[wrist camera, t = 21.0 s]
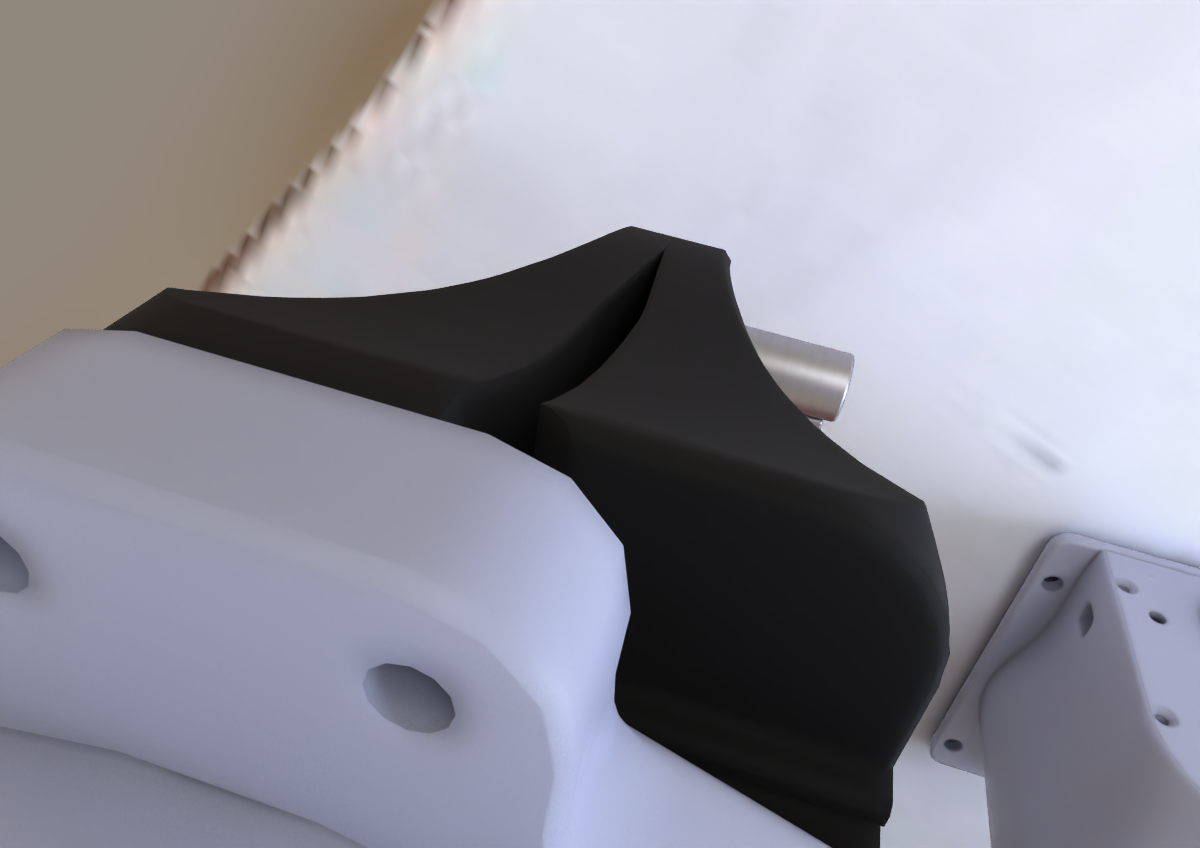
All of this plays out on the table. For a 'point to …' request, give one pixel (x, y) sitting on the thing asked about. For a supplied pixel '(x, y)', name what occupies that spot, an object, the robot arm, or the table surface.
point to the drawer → (806, 373)
